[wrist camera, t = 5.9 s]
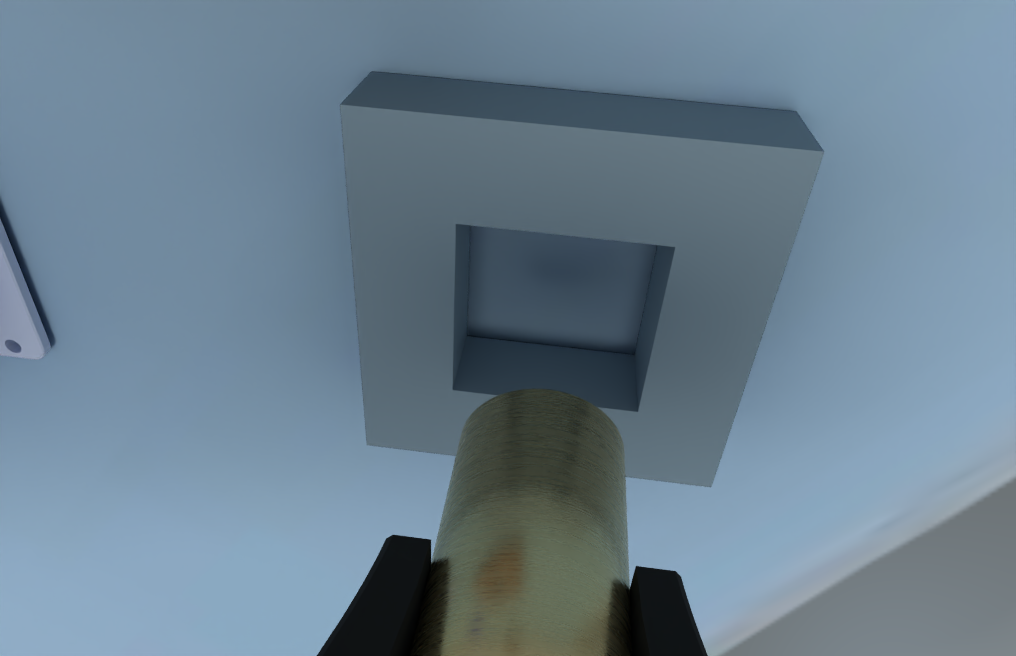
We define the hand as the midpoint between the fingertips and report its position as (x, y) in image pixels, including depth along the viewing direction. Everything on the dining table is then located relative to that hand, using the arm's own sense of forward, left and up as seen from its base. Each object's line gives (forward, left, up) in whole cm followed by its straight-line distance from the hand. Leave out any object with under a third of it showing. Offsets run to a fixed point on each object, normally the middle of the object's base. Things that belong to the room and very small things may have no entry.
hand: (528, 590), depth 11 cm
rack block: (0, 0, -10) cm, 10 cm away
